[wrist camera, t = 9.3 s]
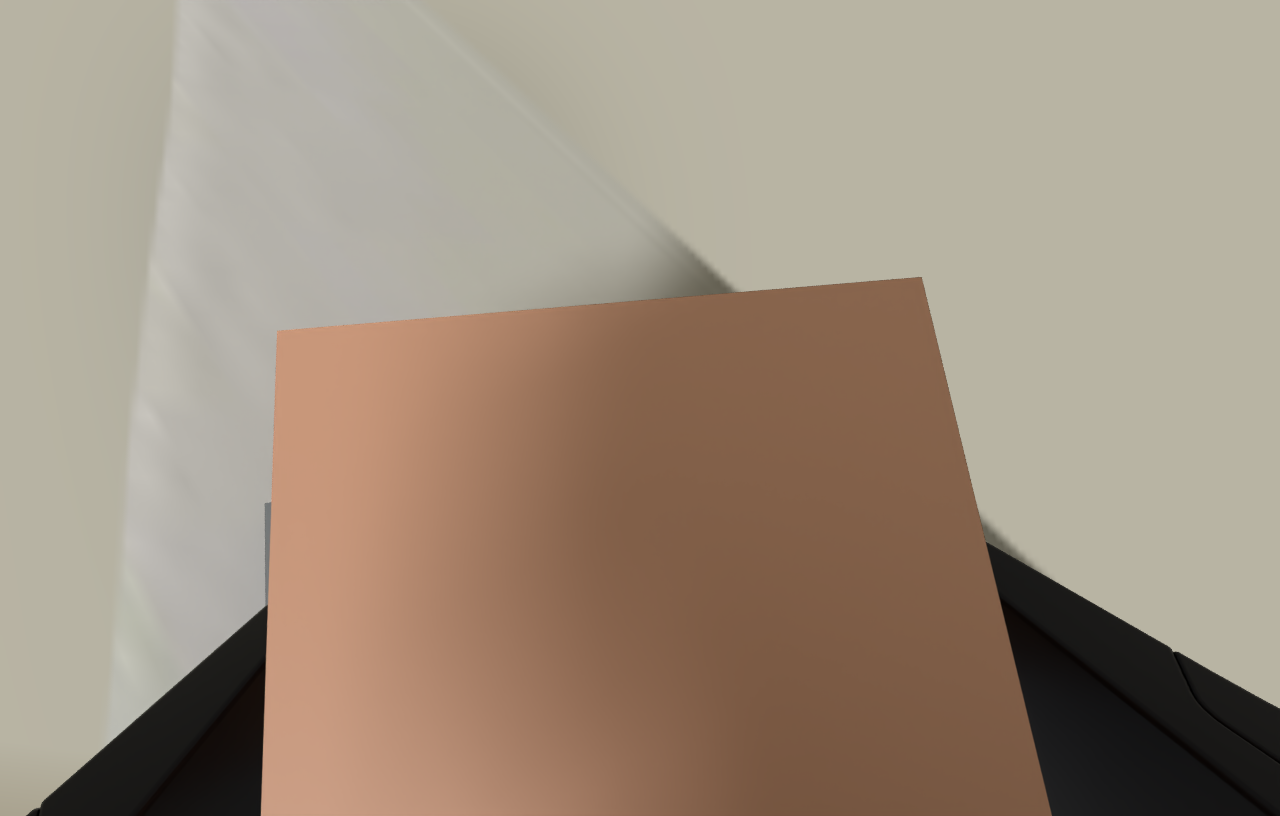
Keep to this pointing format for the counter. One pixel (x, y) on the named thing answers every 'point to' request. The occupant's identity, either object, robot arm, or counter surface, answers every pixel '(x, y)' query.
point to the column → (635, 568)
